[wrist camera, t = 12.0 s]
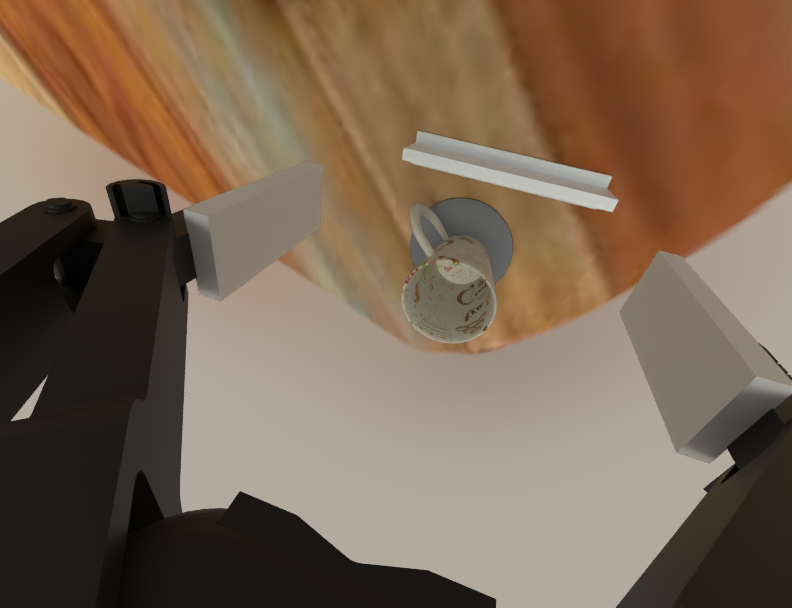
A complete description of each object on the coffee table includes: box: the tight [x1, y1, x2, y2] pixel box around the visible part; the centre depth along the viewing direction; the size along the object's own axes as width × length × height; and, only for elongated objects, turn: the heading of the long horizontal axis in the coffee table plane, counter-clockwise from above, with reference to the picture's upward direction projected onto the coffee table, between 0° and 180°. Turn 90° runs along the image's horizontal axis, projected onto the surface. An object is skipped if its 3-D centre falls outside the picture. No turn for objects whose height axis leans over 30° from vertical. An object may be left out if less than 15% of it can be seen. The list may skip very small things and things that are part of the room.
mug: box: [402, 203, 497, 343], centre depth 35 cm, size 8×13×10 cm, turn 35°
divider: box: [402, 131, 619, 212], centre depth 32 cm, size 3×18×5 cm, turn 79°
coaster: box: [410, 198, 513, 284], centre depth 39 cm, size 11×11×1 cm
